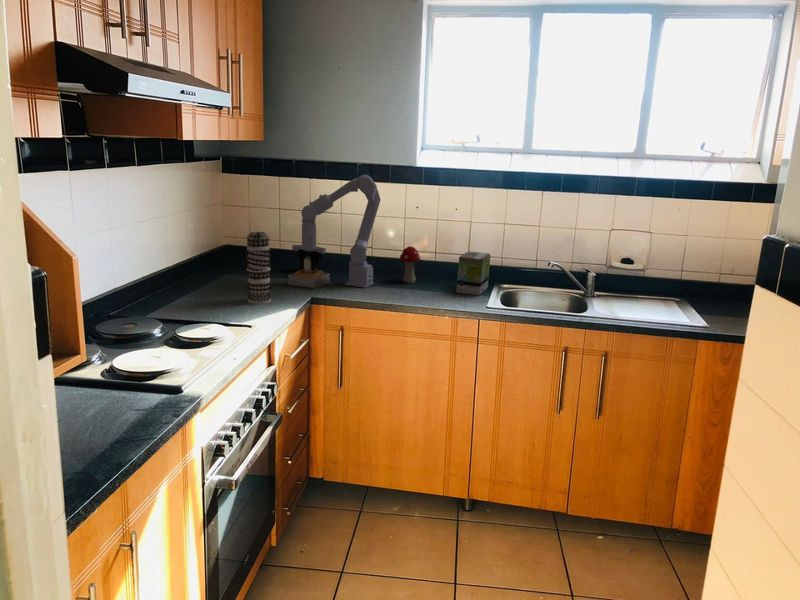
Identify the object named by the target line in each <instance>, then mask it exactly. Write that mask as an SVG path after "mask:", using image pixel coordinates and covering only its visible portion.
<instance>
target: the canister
mask: <svg viewBox="0 0 800 600" xmlns="http://www.w3.org/2000/svg"><path fill="white" fill-rule="evenodd" d="M304 273H308V274H313V270H311V258H310V257H305V258H304Z"/></svg>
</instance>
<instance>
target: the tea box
mask: <svg viewBox="0 0 800 600" xmlns="http://www.w3.org/2000/svg"><path fill="white" fill-rule="evenodd" d="M490 263H491V253H489V252H477V251H469V250H468V251H466V252H464V253H463V254H461V255H460V256H459V258H458V269H457V279H456V280H457V283H456V293H459V294H464V295H472V296H473V295H474V296H480V295H481V294H483V293H484V291H486V290H487V288H488V287H489V280H490V278H489V277H490V268H491V267H490V266H491V264H490Z"/></svg>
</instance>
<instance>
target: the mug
mask: <svg viewBox="0 0 800 600" xmlns="http://www.w3.org/2000/svg"><path fill="white" fill-rule="evenodd" d="M310 253H313V252H308V256H307V257H310ZM323 255H324V254H322V253H321V255H320V257H319V259H318V262H317V265H316V268H317V267H318V265H319V264H320V261H321V260H322V257H323ZM297 262H298V265H299V269H300V270H303V268H302V264H301V261H300V259H299V257H298V256H297ZM300 270H299V271H300Z"/></svg>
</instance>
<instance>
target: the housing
mask: <svg viewBox="0 0 800 600" xmlns="http://www.w3.org/2000/svg"><path fill="white" fill-rule="evenodd" d="M330 279H331V277H330V273H328V272H324V270H320V269H319V270H318V269H315V270H313V274H308V273H304V269H303V270H298V271H295V272H294V273H290V274H289V275H288V276H287V283H288V286H291V285H292V287H297V286H299V288H304V287H306V288H305V289H311V288H315V289H318V288H321V287H323V286H325V284H326V285H327V284H330ZM322 285H323V286H322ZM317 287H318V288H317Z"/></svg>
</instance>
